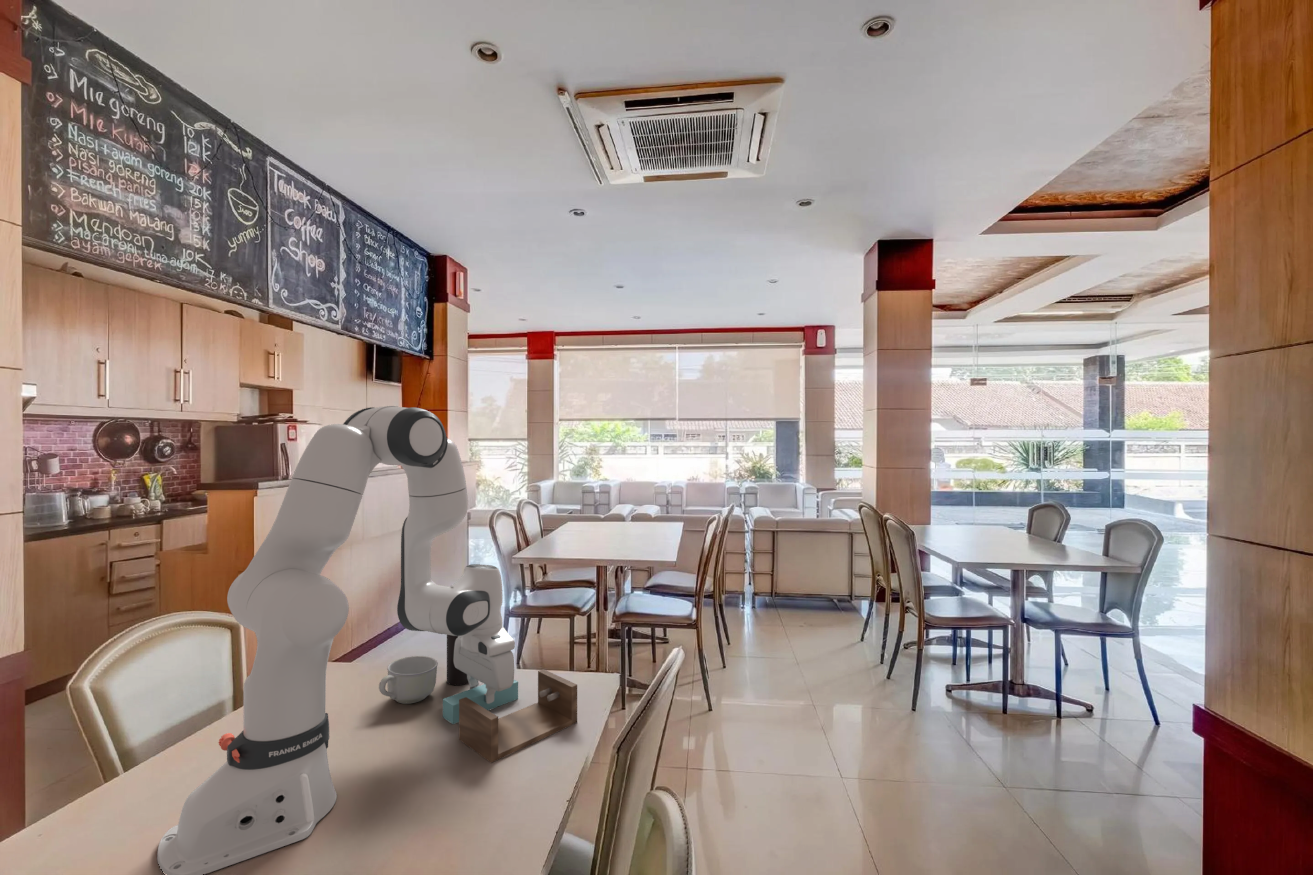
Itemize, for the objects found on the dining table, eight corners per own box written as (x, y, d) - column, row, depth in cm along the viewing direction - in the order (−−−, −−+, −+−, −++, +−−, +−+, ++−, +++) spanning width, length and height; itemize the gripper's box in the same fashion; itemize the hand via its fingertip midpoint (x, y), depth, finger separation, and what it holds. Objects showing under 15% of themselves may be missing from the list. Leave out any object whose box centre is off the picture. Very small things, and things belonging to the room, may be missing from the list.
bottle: (479, 674, 143) (479, 596, 143) (468, 686, 136) (468, 604, 137) (454, 673, 144) (454, 595, 144) (441, 685, 137) (441, 603, 137)
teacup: (421, 683, 138) (421, 651, 138) (447, 695, 132) (447, 661, 132) (364, 705, 127) (364, 670, 127) (389, 719, 120) (389, 681, 120)
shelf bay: (491, 762, 104) (491, 719, 104) (459, 739, 112) (459, 699, 112) (577, 722, 119) (577, 684, 119) (543, 704, 127) (543, 669, 127)
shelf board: (452, 724, 118) (452, 705, 118) (442, 717, 121) (442, 698, 121) (518, 698, 130) (518, 681, 130) (507, 692, 133) (507, 676, 133)
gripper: (446, 628, 131) (446, 688, 130) (493, 651, 117) (493, 717, 117) (471, 622, 135) (471, 679, 135) (519, 643, 121) (519, 707, 121)
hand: (482, 697), depth 126 cm, fingers closed on shelf board, 4 cm apart
